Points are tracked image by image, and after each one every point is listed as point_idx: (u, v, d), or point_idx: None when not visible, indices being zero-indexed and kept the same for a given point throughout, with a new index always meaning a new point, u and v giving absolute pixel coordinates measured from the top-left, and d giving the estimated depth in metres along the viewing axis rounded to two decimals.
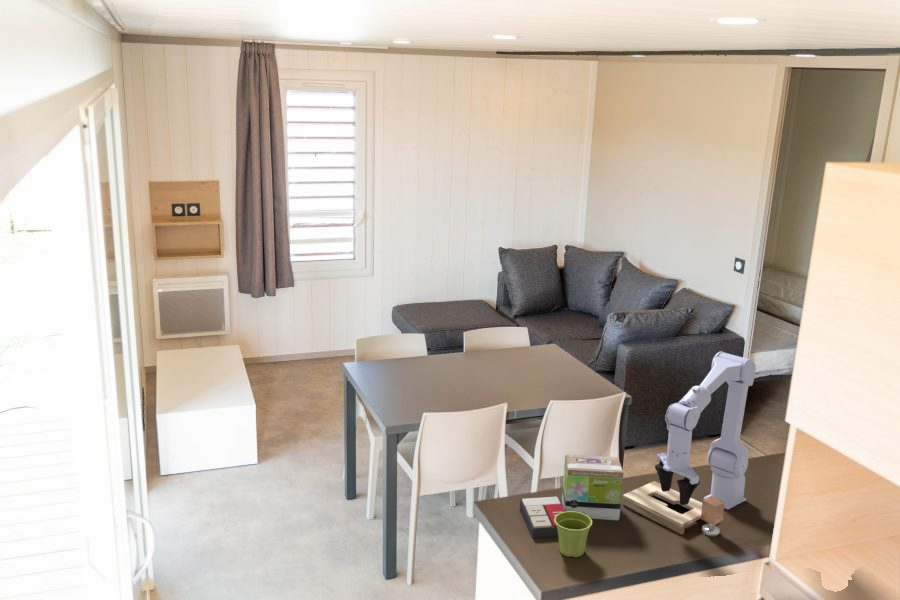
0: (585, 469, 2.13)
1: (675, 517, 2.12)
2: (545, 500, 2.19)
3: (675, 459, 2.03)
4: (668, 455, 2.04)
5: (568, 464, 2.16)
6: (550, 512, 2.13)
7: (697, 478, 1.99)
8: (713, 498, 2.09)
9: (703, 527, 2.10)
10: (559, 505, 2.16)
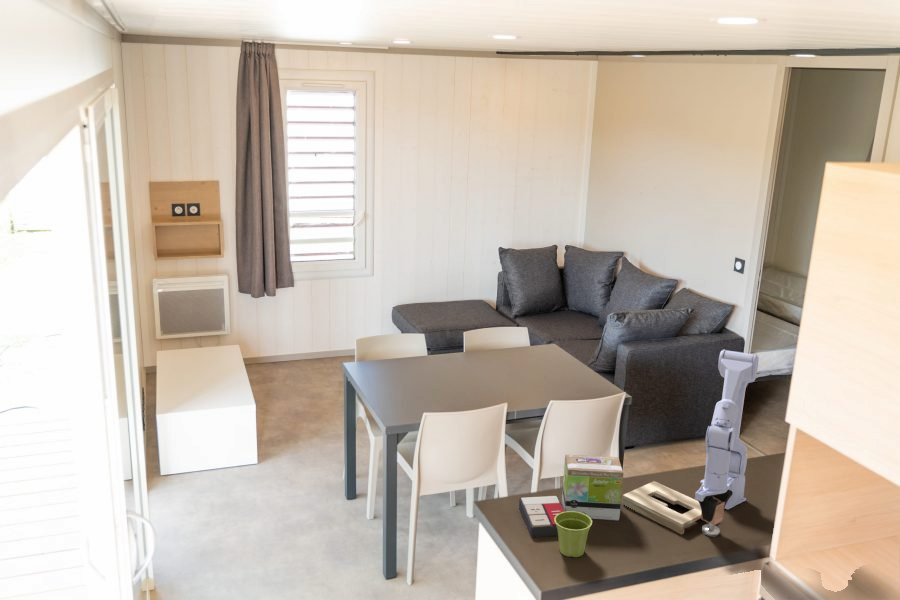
0: (585, 469, 2.13)
1: (675, 517, 2.12)
2: (544, 499, 2.19)
3: None
4: None
5: (568, 464, 2.16)
6: (549, 511, 2.13)
7: (700, 496, 2.02)
8: None
9: (703, 527, 2.10)
10: (558, 504, 2.17)
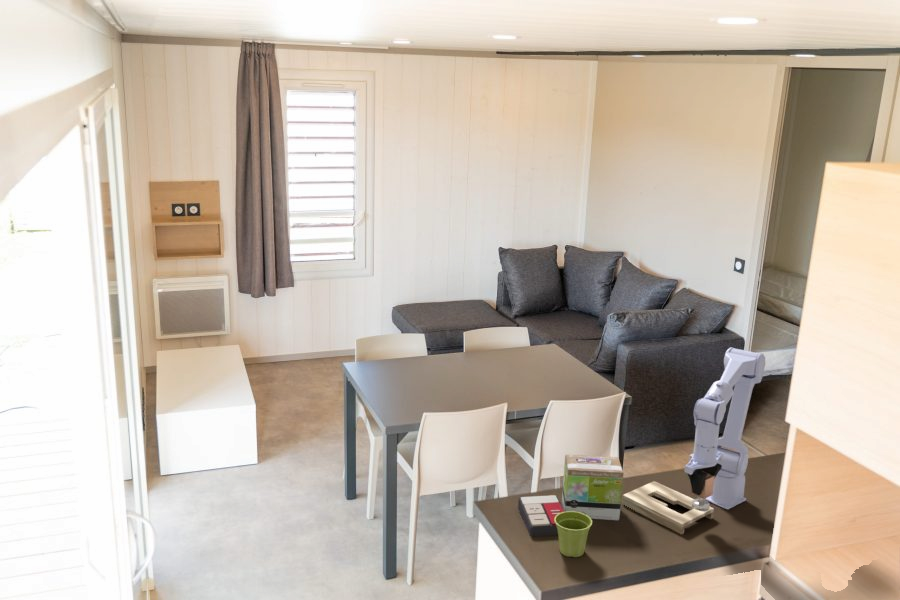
0: (585, 469, 2.13)
1: (675, 517, 2.12)
2: (543, 498, 2.20)
3: (694, 448, 2.08)
4: None
5: (568, 464, 2.16)
6: (548, 510, 2.13)
7: (689, 469, 2.04)
8: None
9: (693, 501, 2.12)
10: (557, 503, 2.17)
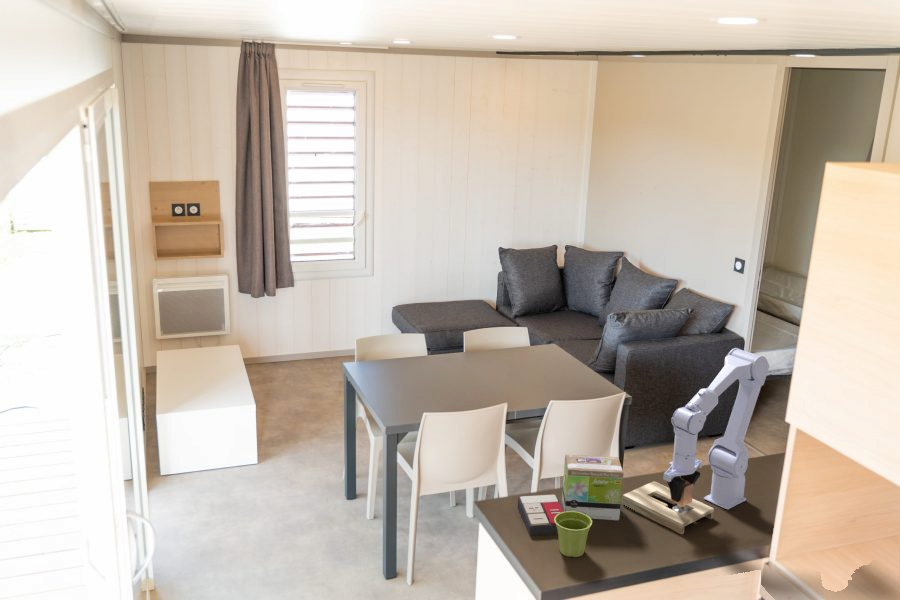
0: (585, 469, 2.13)
1: (675, 517, 2.12)
2: (543, 498, 2.20)
3: (673, 456, 2.14)
4: None
5: (568, 464, 2.16)
6: (548, 510, 2.14)
7: (668, 476, 2.10)
8: None
9: (673, 508, 2.17)
10: (557, 503, 2.17)
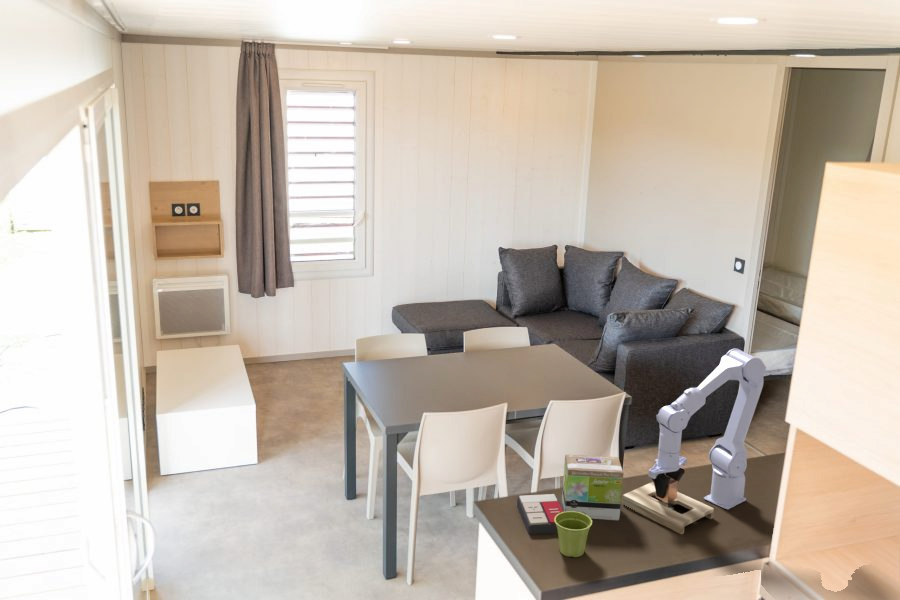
0: (585, 469, 2.13)
1: (675, 517, 2.12)
2: (542, 497, 2.20)
3: (658, 453, 2.18)
4: None
5: (568, 464, 2.16)
6: (547, 509, 2.14)
7: (652, 473, 2.13)
8: None
9: None
10: (556, 502, 2.18)
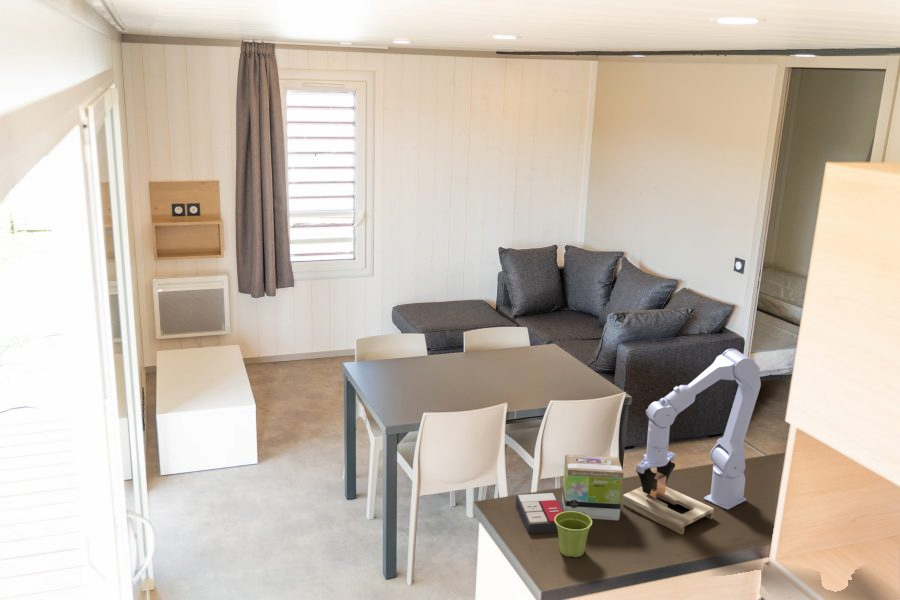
0: (585, 469, 2.13)
1: (675, 517, 2.12)
2: (541, 496, 2.21)
3: None
4: None
5: (568, 464, 2.16)
6: (546, 508, 2.15)
7: (641, 468, 2.16)
8: (656, 473, 2.23)
9: None
10: (555, 501, 2.18)
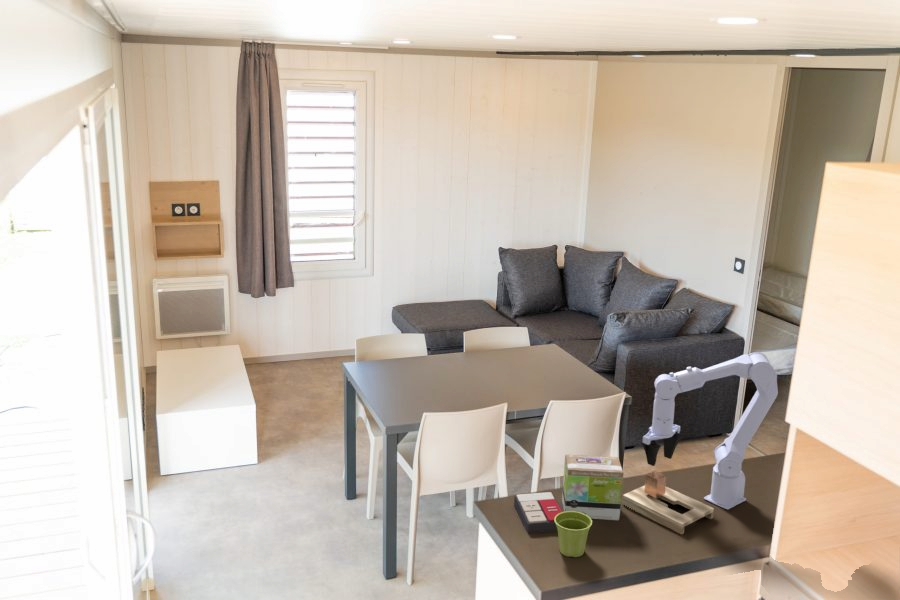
0: (585, 469, 2.13)
1: (675, 517, 2.12)
2: (539, 495, 2.21)
3: (652, 421, 2.26)
4: None
5: (568, 464, 2.16)
6: (545, 507, 2.15)
7: (647, 439, 2.21)
8: (656, 472, 2.23)
9: None
10: (553, 500, 2.19)
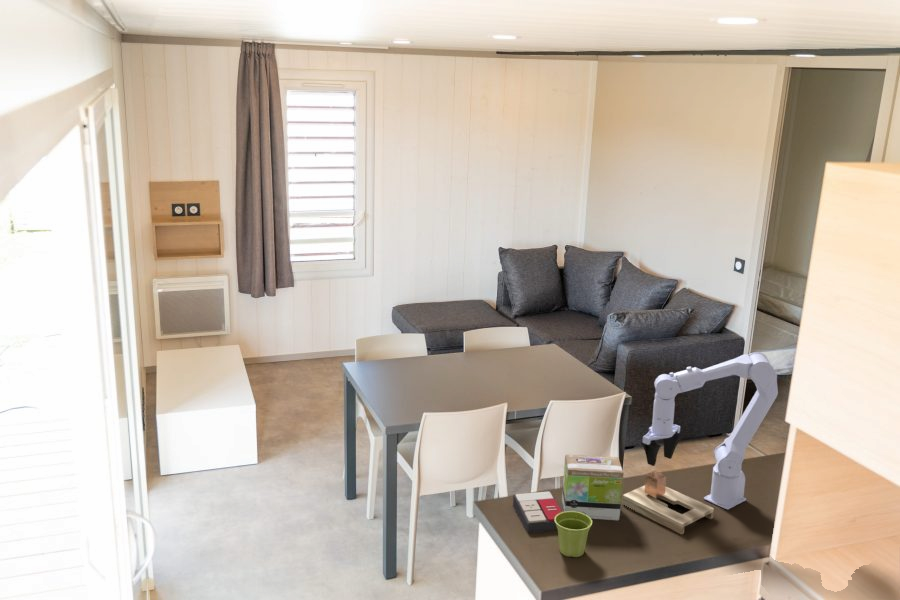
0: (585, 469, 2.13)
1: (675, 517, 2.12)
2: (538, 495, 2.21)
3: (652, 421, 2.26)
4: None
5: (568, 464, 2.16)
6: (544, 507, 2.15)
7: (647, 439, 2.21)
8: (656, 472, 2.23)
9: None
10: (552, 500, 2.19)
